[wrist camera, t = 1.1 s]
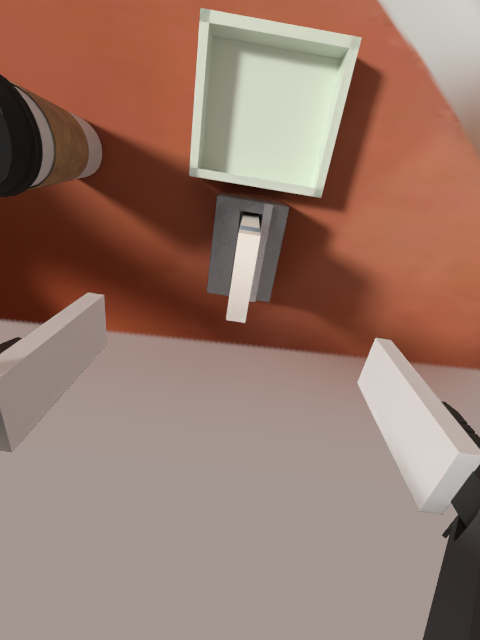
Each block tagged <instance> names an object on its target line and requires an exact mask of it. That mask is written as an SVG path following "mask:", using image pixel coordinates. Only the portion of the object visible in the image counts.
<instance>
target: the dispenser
mask: <svg viewBox="0 0 480 640" xmlns="http://www.w3.org/2000/svg"><path fill="white" fill-rule="evenodd" d="M244 211H246V212H252V213H258V215H259V225H260V235H261V237H260V243H259V248H258V254H257V259H256V265H255V271H254V276H253V282H252V287H251V293H250V299H249V301H251V302H255V300H258V301H264V302H270V297H271V292H272V288H273V283H274V278H275V273H276V269H277V264H278V259H279V254H280V250H281V245H282V240H283V235H284V231H285V226H286V221H287V216H288V212H289V207H288V206H287V205H286V204H285V203H284V202H280V201H274V200H268V199H262V198H256V197H250V196H244V195H238V194H232V193H226V192H222V193H221V194H219V195H217V203H216V212H215V221H214V230H213V240H212V249H211V258H210V267H209V277H208V286H207V293H213V294H219V295H226V296H229V294H230V287H231V280H232V273H233V266H234V259H235V253H236V246H237V239H238V232H239V228H240V225H241V221H242V218H243V214H244Z"/></svg>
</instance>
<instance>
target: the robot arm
mask: <svg viewBox="0 0 480 640" xmlns="http://www.w3.org/2000/svg"><path fill="white" fill-rule="evenodd" d="M106 345H107V339H106V320H105V302H104V295H101V294H95V293H89V292H88V293H86V294H85V295H84V296H82V297H81V298H79V299H78V300H76V301H75V302H74V303H72V304H71V305H69V306H68V307H66V308H65V309H64V310H62V311H61V312H59V313H58V314H56V315H55V316H54V317H52V318H51V319H49V320H48V321H46V322H45V323H44V324H42V325H41V326H39V327H38V328H37V329H35V330H34V331H32V332H31V333H29V334H28V335H26V336H25V337H24V338H18V337H17V338H14V339H12V340H9V341H7V342H4V343H2V344H0V451H7V452H13V451H14V450H15V448H16V447H17V446H18V445H19V444H20V443H21V442H22V441H23V439H24V438H25V437H26V436H27V435H28V434H29V432H30V431H31V430H32V429H33V428H34V427H35V426H36V425H37V423H38V422H39V421H40V420H41V419H42V418H43V416H44V415H45V414H46V413H47V412H48V411H49V410H50V409H51V407H52V406H53V405H54V404H55V403H56V402H57V401H58V399H59V398H60V397H61V396H62V395H63V394H64V393H65V392H66V390H67V389H68V388H69V387H70V386H71V385H72V384H73V382H74V381H75V380H76V379H77V378H78V377H79V376H80V374H81V373H82V372H83V371H84V370H85V369H86V368H87V366H88V365H89V364H90V363H91V362H92V361H93V359H95V357H96V356H97V355H98V354H99V353H100V352H101V350H102V349H103V348H104V347H105V346H106ZM357 383H358V385H359V388H360V390H361V392H362V394H363V396H364V398H365V400H366V402H367V404H368V406H369V408H370V410H371V413H372V415H373V417H374V419H375V421H376V423H377V425H378V427H379V429H380V431H381V433H382V435H383V437H384V439H385V442H386V444H387V446H388V448H389V450H390V452H391V454H392V456H393V458H394V460H395V462H396V464H397V466H398V468H399V470H400V473H401V475H402V477H403V479H404V481H405V483H406V485H407V487H408V489H409V491H410V493H411V495H412V497H413V500H414V502H415V504H416V506H417V508H418V510H419V511H420V512H427V513H434V514H441V515H442V514H443V513H444V512H445V510H446V509H447V507H448V506H449V505H450V504H451V503H452V504H453V506H454V508H455V510H456V511H457V513H458V516H457V517H456V518H455V519H454V521H453V522H452V523H451V524H450V526H449V527H448V528H447V530H446V531H445V532H444V533H443V535H442V536H443V537H445V538H447V536H448V535H449V539H448V543H447V546H446V550H445V554H444V558H443V563H442V566H441V570H440V574H439V578H438V582H437V586H436V590H435V594H434V598H433V602H432V605H431V609H430V613H429V617H428V621H427V626H426V629H425V633H424V637H423V640H480V437H479V436H478V435H477V434H475V431H474V430H473V429H472V428H471V427H470V426H469V425H467V422H466V421H465V420H464V419H463V417H462V416H461V415H460V414H459V413H458V412H457V411H456V410H455V409H453V408H452V407H451V406H450V405H448V404H447V403H446V402H442V401H440V400H439V399H438V397H437V396H436V395H435V394H434V392H433V391H432V390H431V389H430V387H429V386H428V385H427V384H426V383H425V381H424V380H423V379H422V378H421V376H420V375H419V374H418V373H417V371H416V370H415V369H414V368H413V367H412V365H411V364H410V363H409V362H408V360H407V359H406V358H405V357H404V355H403V354H402V353H401V352H400V350H399V349H398V348H397V347H396V346H395V344H394V343H393V342H392V341H391V340H387V339H381V338H375V340H374V343H373V345H372V348H371V350H370V353H369V355H368V358H367V360H366V362H365V365H364V367H363V370H362V372H361V375H360V378H359V380H358V382H357Z"/></svg>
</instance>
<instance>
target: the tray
mask: <svg viewBox="0 0 480 640" xmlns="http://www.w3.org/2000/svg"><path fill="white" fill-rule="evenodd" d="M361 38H362V37H356V36H351V35H345V34H340V33H334V32H329V31H323V30H318V29H312V28H307V27H301V26H296V25H291V24H285V23H280V22H274V21H269V20H263V19H258V18H252V17H247V16H241V15H236V14H230V13H225V12H219V11H214V10H209V9H203V8H200V22H199V37H198V52H197V66H196V81H195V96H194V110H193V125H192V140H191V155H190V169H189V176H193V177H199V178H205V179H211V180H217V181H223V182H229V183H235V184H241V185H247V186H253V187H259V188H265V189H271V190H277V191H283V192H289V193H295V194H301V195H307V196H313V197H318V198H321V197H322V193H323V189H324V185H325V181H326V177H327V173H328V169H329V165H330V161H331V157H332V153H333V149H334V145H335V141H336V137H337V133H338V129H339V125H340V122H341V118H342V114H343V110H344V106H345V102H346V98H347V94H348V90H349V86H350V82H351V78H352V74H353V70H354V66H355V62H356V58H357V54H358V50H359V46H360V42H361Z"/></svg>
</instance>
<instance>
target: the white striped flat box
mask: <svg viewBox="0 0 480 640" xmlns="http://www.w3.org/2000/svg"><path fill="white" fill-rule="evenodd" d="M260 237H261V235H260V225H259V215H258V213H252V212H246V211H244V214H243V218H242V221H241V225H240V228H239V232H238V239H237V246H236V253H235V259H234V266H233V273H232V280H231V287H230V294H229V301H228V308H227V315H226V320H229V321H235V322H241V323H245V321H246V316H247V310H248V304H249V299H250V293H251V287H252V282H253V276H254V271H255V265H256V259H257V254H258V248H259V243H260Z"/></svg>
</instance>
